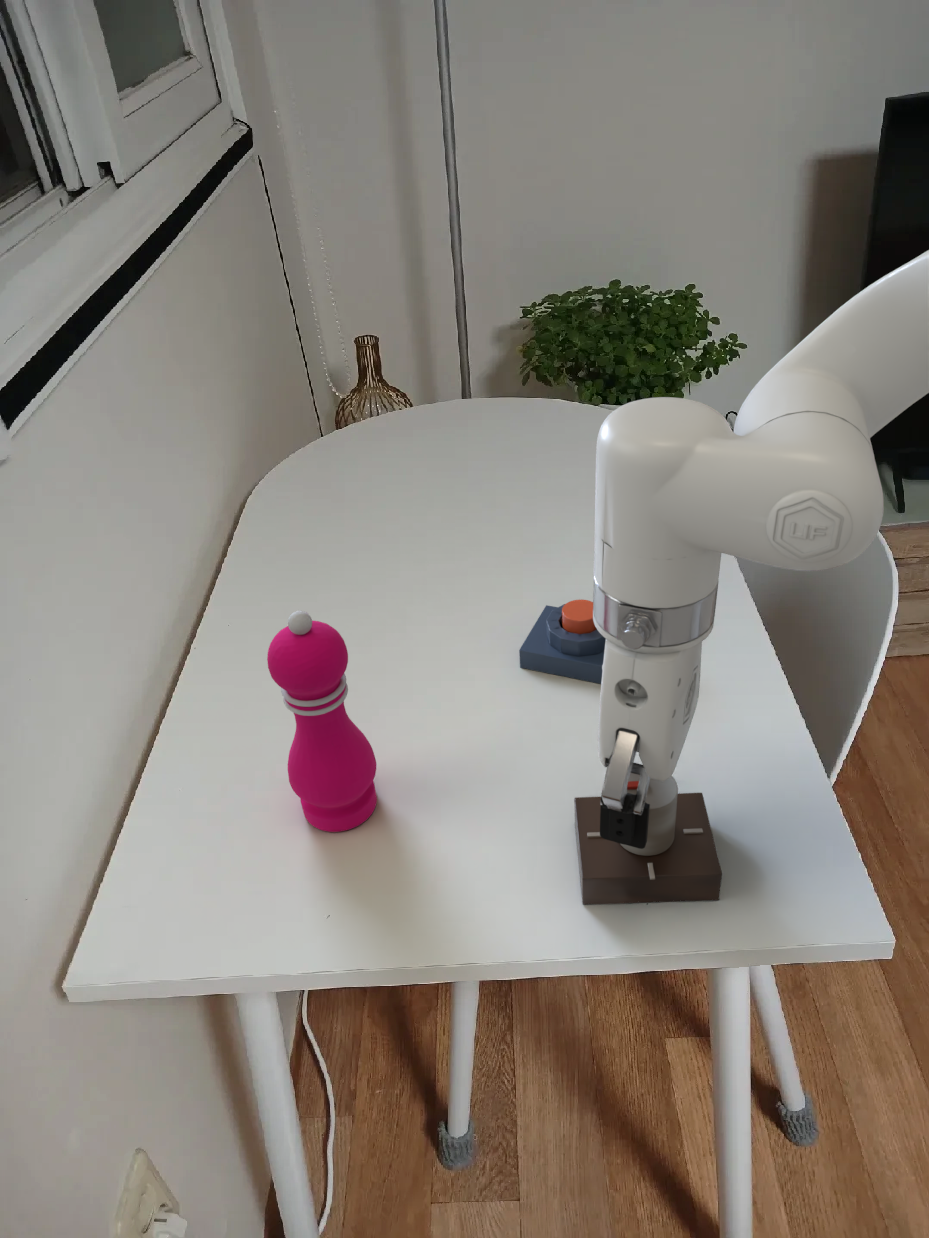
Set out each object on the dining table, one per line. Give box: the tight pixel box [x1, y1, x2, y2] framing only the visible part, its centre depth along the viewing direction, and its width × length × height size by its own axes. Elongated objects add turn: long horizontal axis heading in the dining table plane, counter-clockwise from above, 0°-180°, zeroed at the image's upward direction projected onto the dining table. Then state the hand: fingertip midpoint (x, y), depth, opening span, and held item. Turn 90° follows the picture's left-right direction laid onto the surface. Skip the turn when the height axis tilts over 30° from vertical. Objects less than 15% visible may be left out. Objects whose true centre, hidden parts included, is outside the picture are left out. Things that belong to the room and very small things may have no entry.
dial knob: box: [621, 773, 679, 856], centre depth 70 cm, size 4×4×5 cm
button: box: [562, 599, 597, 634], centre depth 92 cm, size 4×4×2 cm
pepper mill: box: [266, 610, 378, 833], centre depth 75 cm, size 7×7×20 cm
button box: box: [518, 603, 606, 685], centre depth 94 cm, size 10×8×4 cm
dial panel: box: [573, 792, 723, 906], centre depth 73 cm, size 10×9×3 cm
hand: (641, 791), depth 69 cm, fingers open, 9 cm apart
